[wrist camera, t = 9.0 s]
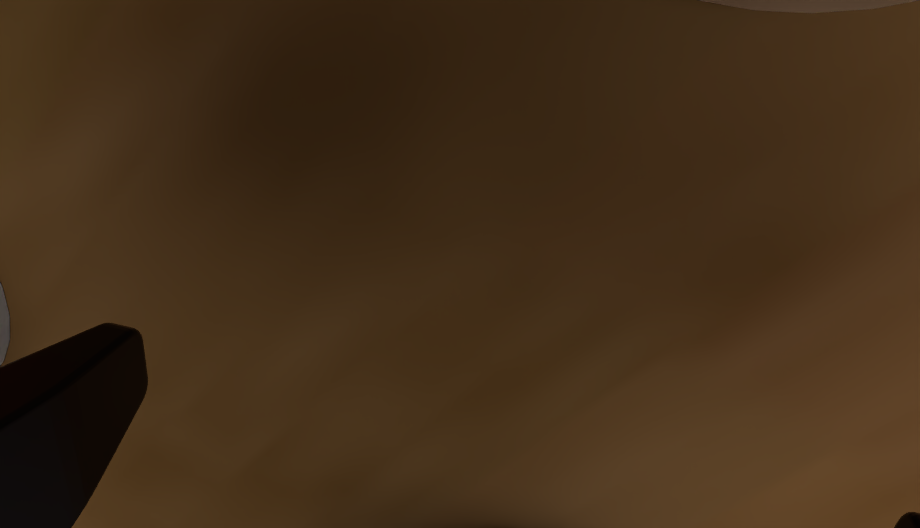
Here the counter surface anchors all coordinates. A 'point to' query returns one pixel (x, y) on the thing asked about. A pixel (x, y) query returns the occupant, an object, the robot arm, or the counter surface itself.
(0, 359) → the mate gourd
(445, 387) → the counter surface
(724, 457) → the counter surface
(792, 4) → the stand
